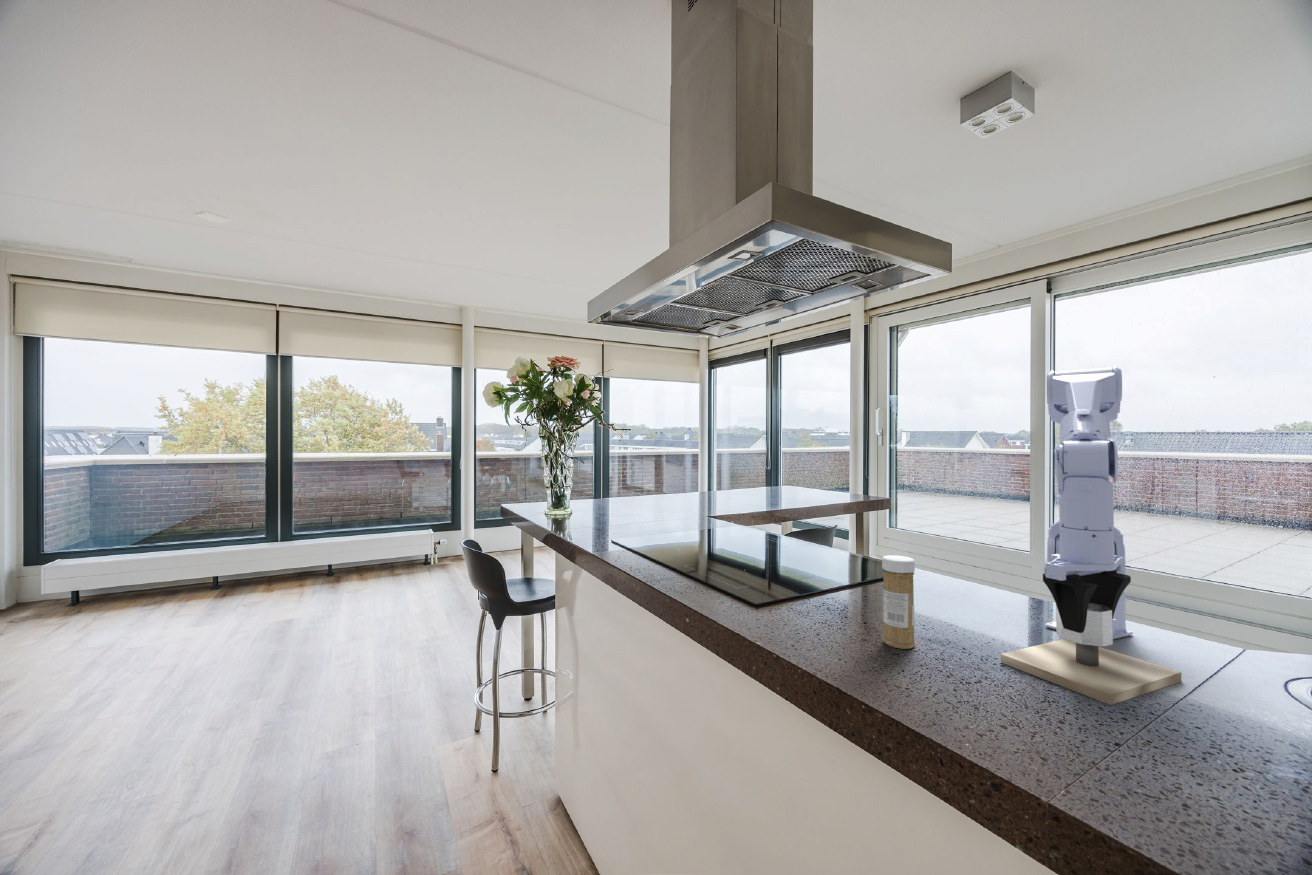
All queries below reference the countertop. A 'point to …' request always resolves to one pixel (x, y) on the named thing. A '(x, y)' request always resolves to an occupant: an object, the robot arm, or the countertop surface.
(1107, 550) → the robot arm
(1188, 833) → the countertop surface
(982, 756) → the countertop surface
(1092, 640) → the steel ring
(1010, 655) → the post board
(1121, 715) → the countertop surface
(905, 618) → the sprinkles bottle
